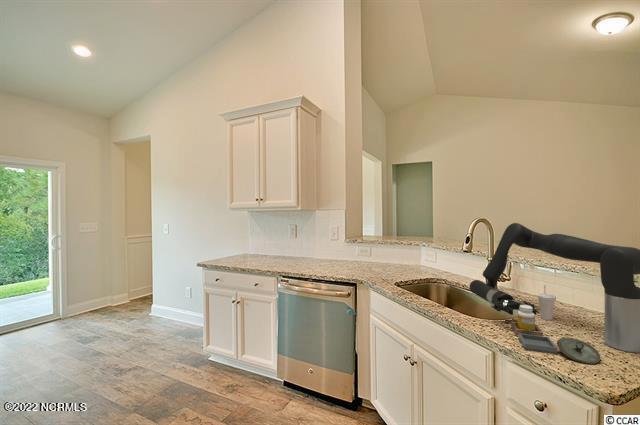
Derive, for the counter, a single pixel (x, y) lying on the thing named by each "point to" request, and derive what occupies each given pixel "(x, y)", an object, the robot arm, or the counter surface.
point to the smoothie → (546, 305)
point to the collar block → (517, 331)
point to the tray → (537, 343)
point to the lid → (578, 350)
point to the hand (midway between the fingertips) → (523, 312)
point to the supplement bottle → (526, 318)
